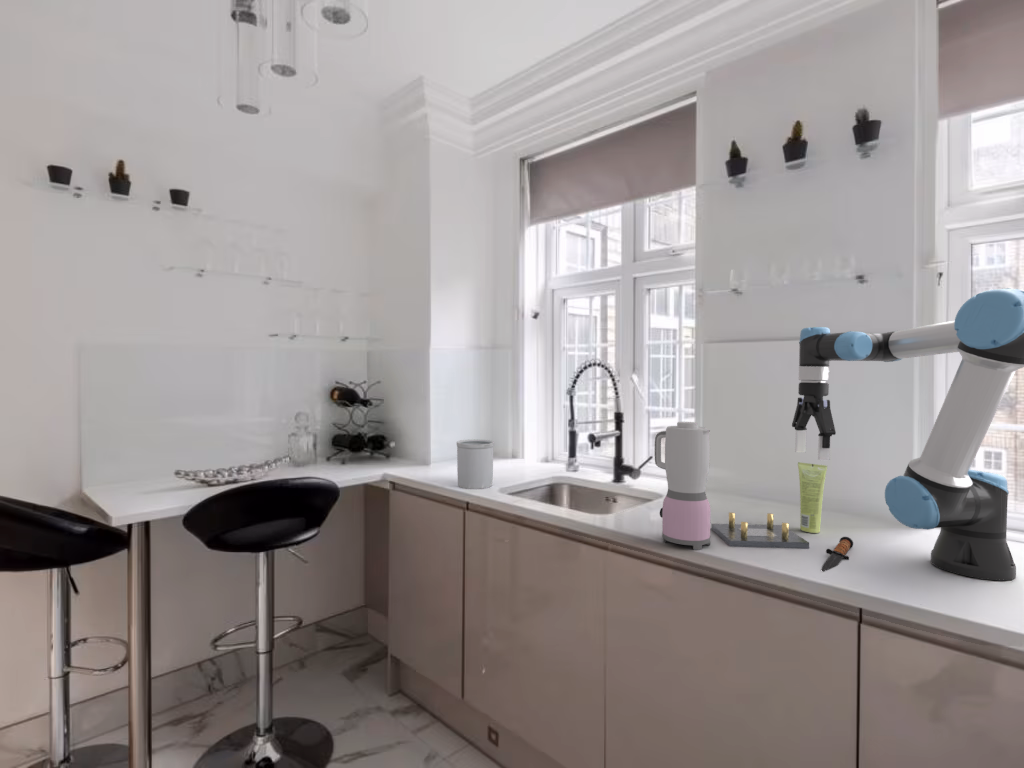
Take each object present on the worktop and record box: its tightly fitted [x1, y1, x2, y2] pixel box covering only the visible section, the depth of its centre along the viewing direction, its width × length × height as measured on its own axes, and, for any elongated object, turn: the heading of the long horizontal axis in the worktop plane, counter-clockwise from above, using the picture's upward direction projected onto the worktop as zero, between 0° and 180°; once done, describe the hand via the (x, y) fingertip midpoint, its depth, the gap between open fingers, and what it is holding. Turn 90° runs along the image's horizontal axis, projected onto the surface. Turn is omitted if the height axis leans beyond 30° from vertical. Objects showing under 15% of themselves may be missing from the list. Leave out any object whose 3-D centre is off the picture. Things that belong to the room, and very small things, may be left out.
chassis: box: [710, 511, 810, 549], centre depth 148 cm, size 16×20×6 cm
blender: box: [654, 421, 712, 551], centre depth 145 cm, size 16×12×32 cm
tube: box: [797, 461, 828, 534], centre depth 155 cm, size 6×5×20 cm
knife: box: [820, 536, 854, 572], centre depth 132 cm, size 25×3×5 cm
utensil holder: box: [456, 438, 495, 490], centre depth 215 cm, size 15×15×18 cm
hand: (811, 456), depth 155 cm, fingers open, 13 cm apart
